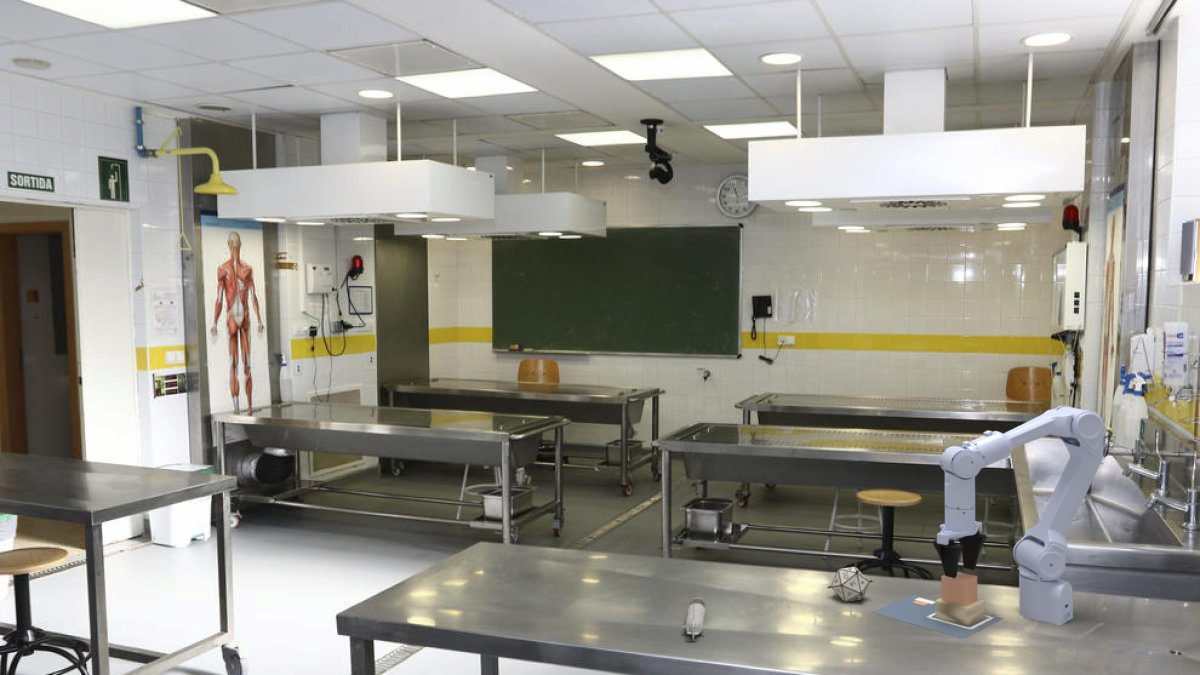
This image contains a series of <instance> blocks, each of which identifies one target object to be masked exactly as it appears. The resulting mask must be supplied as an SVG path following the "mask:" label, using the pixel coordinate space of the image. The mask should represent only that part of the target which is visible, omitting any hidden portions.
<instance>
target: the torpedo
mask: <svg viewBox="0 0 1200 675" xmlns="http://www.w3.org/2000/svg"><path fill="white" fill-rule="evenodd" d="M705 614H706V602H705V600H704V599H703V598H701V597H694V598H692V599H690V601H689V606H688V610H687V615H686V621H685V624H684V625H682V626H681V627H682V628H684V629H685V630H686V634H688V635H690V636H692V639H695V637H696V636H698V635H700V634H701V633H702V632H703V630H704V629H707V627H706V626H704V622H705V621H704V620H705V617H706V616H705Z"/></svg>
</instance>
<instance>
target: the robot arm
mask: <svg viewBox="0 0 1200 675" xmlns="http://www.w3.org/2000/svg"><path fill="white" fill-rule="evenodd" d="M1107 433H1108V428H1107V426H1106V424H1105V422H1104V420H1103V418H1102V417H1101V415H1100V414H1099V413H1098V412H1096V411H1093V410H1088V409H1087V410H1085V409H1081V408H1077V407H1072V406H1069V405H1065V404H1064V405H1060V406H1057V407H1056V408H1052V409H1048V410H1046V411H1045V412H1043V413H1042V414H1040V415H1038V416H1037V417H1034V418H1032V419H1030V420H1028V421H1026V422H1024V423H1023V424H1021V425H1018V426H1016V427H1014V428H1013V429H1010V430H1008V431H1005V432H1004V433H1003V432H1000V431H997V430H995V431H991V430H986V431H984V432H983V435H982V436H979V437H977V438H975V439H972V440H970V441H968V440H964V441H963V442H962V445H961V446H957V445H952V446H949V447H947V448H946V449H945V450H944V452H942V454H941V457H940V458H939V459H938V463H939V466H940V468H941V469H942V470H943V471H944V523H942V524H940V525H939V529H940V532H938V533H936V539H934V540H933V541H932V546H933V547H934V549H935V550H936V552H937V554H938V556H939V558H940V561H941V562H940V563H941V565H942V569H943V574H944V575H945V576H947V577H951V578H956V576H957V572H959V562H960V558H961V559H962V560H961V561H962V565H963V569H967V570H971V571H975V570H976V569H977V568H976V567H977V565H978V564H977V563H978V560H979V556H980V553H981V549H982V548H983V545H984V544H985V542H986V540H987V534H984V533H982V532H983V522H981V521H976V476H977V475H978V474H979V473H980V471H981V469H983V468H985V467H988V466H991V465H993V464H996V463H997V462H1000V461H1002V460H1004V459H1007V458H1009V457H1010V456H1011V454H1012V452H1013V449H1015V448H1017V447H1020V446H1023V445H1025V444H1029V443H1031V442H1033V441H1036V440H1039V439H1042V438H1045V437H1047V436H1056V437H1058V438H1059V440H1060V441H1062V442H1063V443H1064V445H1065V447H1066V449H1067V452H1068V454H1069V458H1068V461H1067V462H1066V465H1065V467H1064V469H1063V471H1062V473H1061V475H1060V478H1059V480H1058V481H1057V483H1056V486H1055V488H1054V490H1053V491H1052V494H1051V496H1050V498H1049V500H1048V502H1047V504H1046V506H1045V508H1044V510H1043V512H1042V514H1041V517H1040V519H1039V521H1038V522H1037V524H1036V525H1034V526H1032V527H1030V528H1029V529H1026V532H1025V534H1024V536H1022V538H1020V539H1019V540H1018V541H1017V542H1016V543H1015V545H1014V547H1013V550H1012V554H1013V559H1014V562H1016V563H1017V565H1018V571H1019V572H1018V574H1019V575H1018V576H1019V579H1018V580H1019V581H1018V582H1019V584H1018V585H1019V586H1018V587H1019V588H1018V589H1019V591H1018V592H1019V596H1018V597H1019V598H1018V599H1019V604H1018V605H1019V606H1018V608H1019V609H1018V613H1019V615H1020V616H1021V617H1023V618H1025V619H1029V620H1031V621H1037V622H1043V623H1047V624H1051V625H1055V626H1056V625H1057V626H1062V625H1064V624H1066V623H1067V622H1069V621H1071V620H1073V619H1074V593H1073V592H1074V591H1073V586H1072V583H1070V581H1066V580H1063V579H1062V578H1060V577H1061V576H1062V575H1063V574H1064V571H1065V569H1066V564H1067V563H1066V559H1067V555H1068V552H1069V546H1068V543H1067V539H1066V536H1067V534H1068V532H1069V530H1070V528H1071V525H1072V523H1073V522H1074V519H1075V518H1076V516H1077V513H1078V512H1079V510H1080V507H1081V506H1082V503H1083V501H1084V499H1085V497H1086V495H1087V493H1088V491H1089V489H1090V487H1091V485H1092V482H1093V480H1094V478H1095V476H1096V475H1097V472H1098V470H1099V468H1100V466H1101V465H1102V462H1103V459H1104V439H1105V436H1106V435H1107ZM956 540H958V541H959V544H956V542H955V541H956Z"/></svg>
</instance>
